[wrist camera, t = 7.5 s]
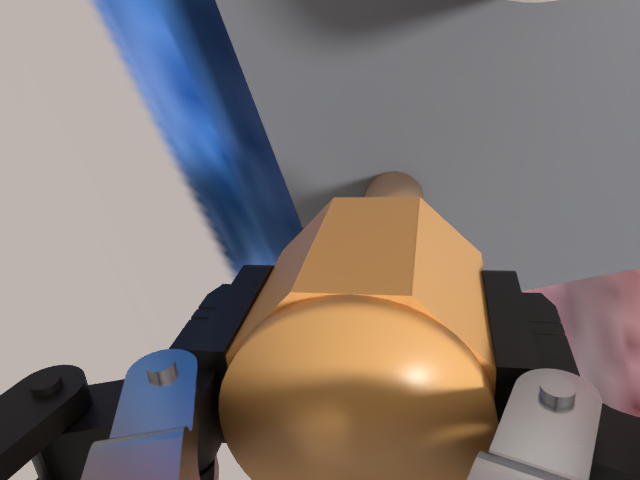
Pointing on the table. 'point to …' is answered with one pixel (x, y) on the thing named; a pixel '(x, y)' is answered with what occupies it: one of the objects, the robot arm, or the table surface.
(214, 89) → the table surface
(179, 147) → the table surface
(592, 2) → the plate
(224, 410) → the orange wire cap
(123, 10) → the table surface
